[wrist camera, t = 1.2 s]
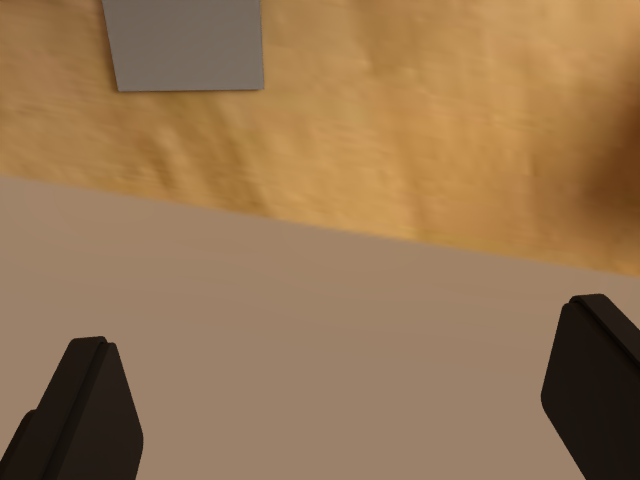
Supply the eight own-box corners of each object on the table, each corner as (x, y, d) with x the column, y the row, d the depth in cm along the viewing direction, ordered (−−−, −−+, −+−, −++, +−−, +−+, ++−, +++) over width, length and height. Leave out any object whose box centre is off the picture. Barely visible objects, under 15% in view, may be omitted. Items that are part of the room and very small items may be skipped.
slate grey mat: (90, -79, 28) (87, -80, 27) (256, -77, 29) (256, -77, 28) (120, 89, 32) (118, 91, 32) (264, 87, 33) (264, 89, 33)
